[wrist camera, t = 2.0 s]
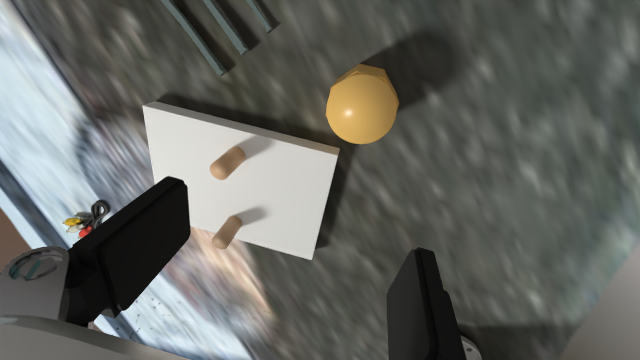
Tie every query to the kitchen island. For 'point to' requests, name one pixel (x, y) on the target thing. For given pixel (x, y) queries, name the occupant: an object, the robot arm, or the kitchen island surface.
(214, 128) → the plate
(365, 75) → the acorn cap nut
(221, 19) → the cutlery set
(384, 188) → the kitchen island surface
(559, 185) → the kitchen island surface
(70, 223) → the composite cable
